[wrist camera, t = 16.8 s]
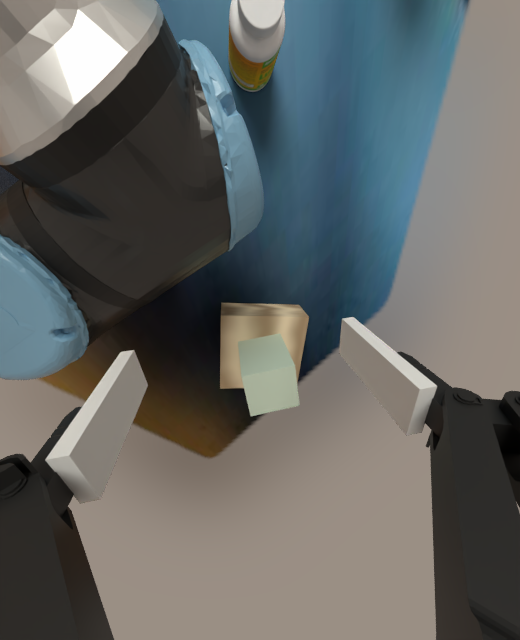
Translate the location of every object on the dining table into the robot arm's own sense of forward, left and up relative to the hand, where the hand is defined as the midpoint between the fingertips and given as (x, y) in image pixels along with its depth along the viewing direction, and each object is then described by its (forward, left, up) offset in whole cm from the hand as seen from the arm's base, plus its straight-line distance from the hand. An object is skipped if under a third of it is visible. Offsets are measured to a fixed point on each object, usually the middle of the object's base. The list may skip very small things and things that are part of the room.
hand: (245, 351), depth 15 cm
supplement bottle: (+6, +24, -26) cm, 36 cm away
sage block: (+2, -14, -20) cm, 25 cm away
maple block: (+2, -14, -26) cm, 29 cm away
